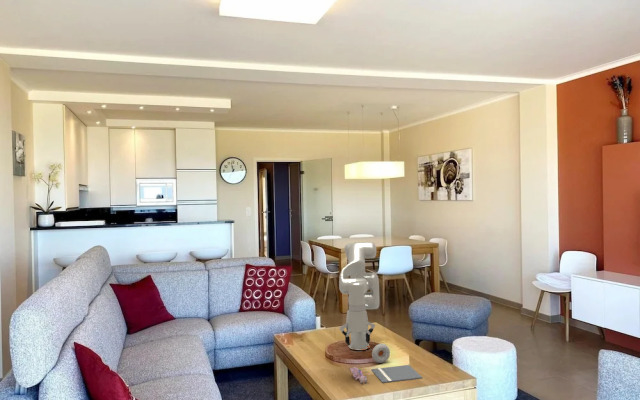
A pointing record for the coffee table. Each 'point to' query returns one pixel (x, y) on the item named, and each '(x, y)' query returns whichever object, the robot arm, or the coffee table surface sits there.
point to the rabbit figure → (359, 375)
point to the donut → (376, 350)
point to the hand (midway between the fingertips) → (357, 343)
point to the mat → (396, 373)
